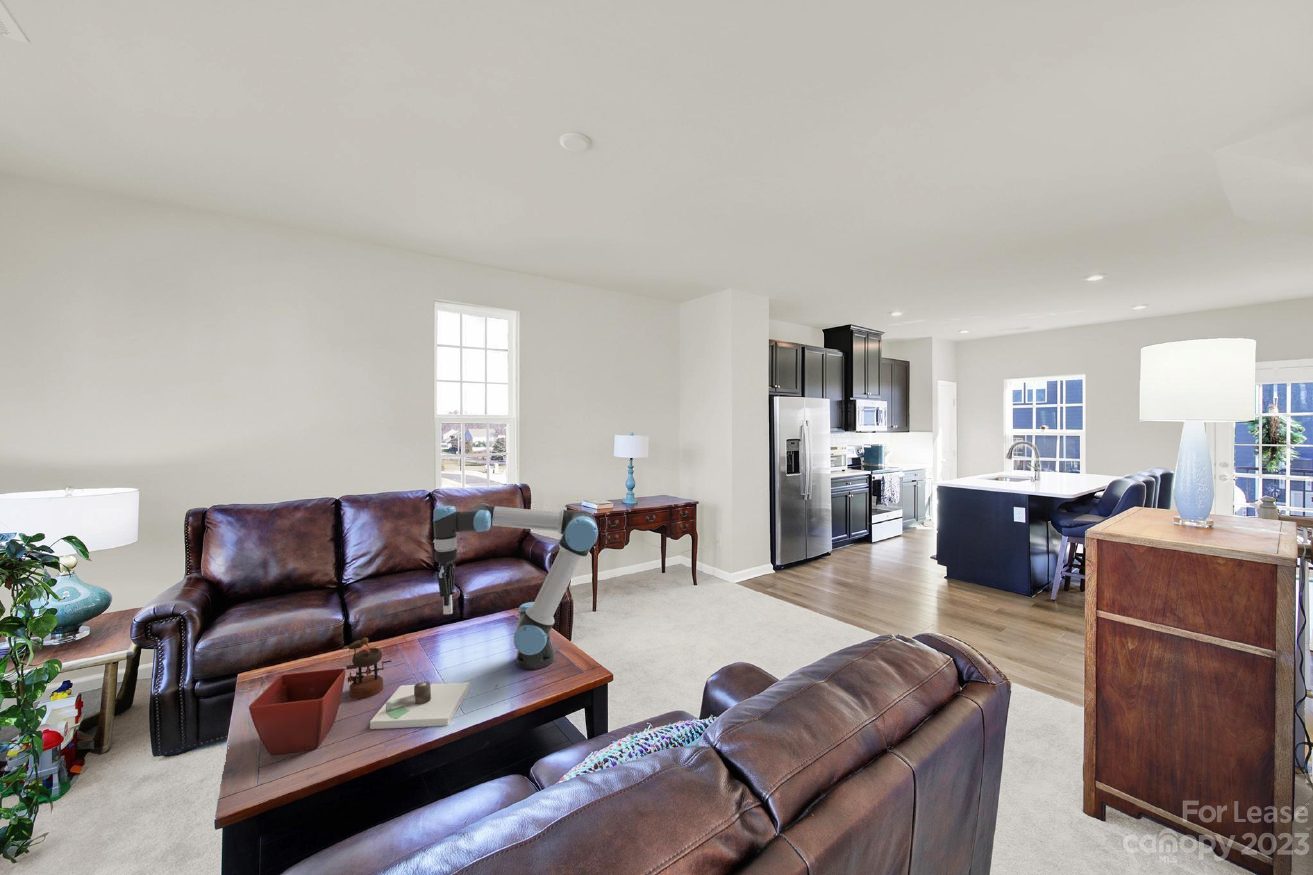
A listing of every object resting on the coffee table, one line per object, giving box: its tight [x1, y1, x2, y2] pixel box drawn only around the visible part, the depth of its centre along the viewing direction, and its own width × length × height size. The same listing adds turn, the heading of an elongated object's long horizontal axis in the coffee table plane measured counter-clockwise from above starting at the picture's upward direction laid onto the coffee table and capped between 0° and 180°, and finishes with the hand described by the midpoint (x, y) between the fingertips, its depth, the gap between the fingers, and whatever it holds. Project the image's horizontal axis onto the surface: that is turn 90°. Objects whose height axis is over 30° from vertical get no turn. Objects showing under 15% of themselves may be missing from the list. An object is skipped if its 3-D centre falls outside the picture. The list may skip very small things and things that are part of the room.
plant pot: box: [248, 667, 347, 756], centre depth 158 cm, size 19×19×17 cm
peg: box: [385, 681, 431, 711], centre depth 172 cm, size 14×5×5 cm, turn 125°
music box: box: [342, 637, 392, 700], centre depth 186 cm, size 15×11×20 cm
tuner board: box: [369, 682, 470, 730], centre depth 175 cm, size 24×22×3 cm
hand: (448, 613), depth 189 cm, fingers closed
